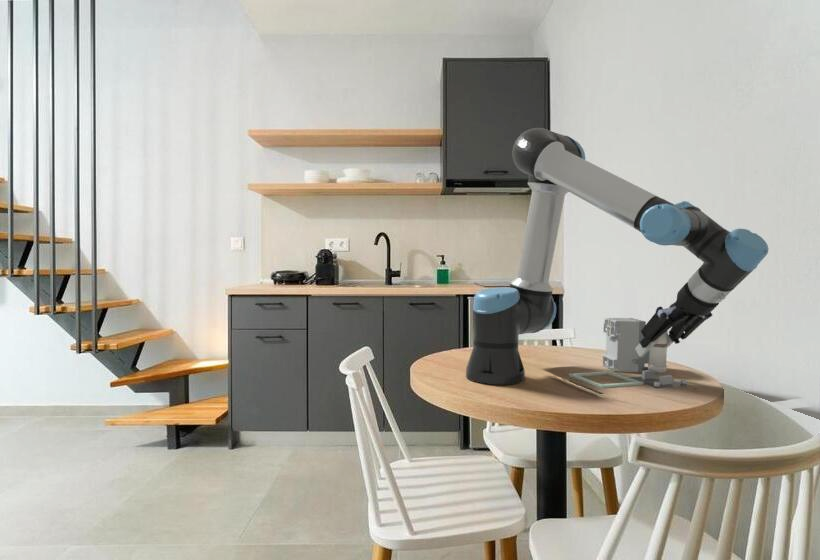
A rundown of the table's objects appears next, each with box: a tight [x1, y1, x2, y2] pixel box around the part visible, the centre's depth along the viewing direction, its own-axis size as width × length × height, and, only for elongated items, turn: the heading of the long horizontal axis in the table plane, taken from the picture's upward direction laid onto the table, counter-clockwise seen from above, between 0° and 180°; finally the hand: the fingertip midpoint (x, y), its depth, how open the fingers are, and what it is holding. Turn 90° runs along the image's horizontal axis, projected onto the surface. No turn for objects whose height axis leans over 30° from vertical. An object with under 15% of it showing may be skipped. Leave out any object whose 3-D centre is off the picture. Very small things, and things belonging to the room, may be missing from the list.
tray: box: [568, 370, 644, 395], centre depth 115 cm, size 12×12×2 cm
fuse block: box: [628, 369, 690, 389], centre depth 114 cm, size 10×10×4 cm
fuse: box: [647, 329, 669, 374], centre depth 114 cm, size 4×4×12 cm
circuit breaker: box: [602, 317, 649, 373], centre depth 128 cm, size 8×14×15 cm, turn 89°
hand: (646, 352), depth 118 cm, fingers closed on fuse, 4 cm apart
